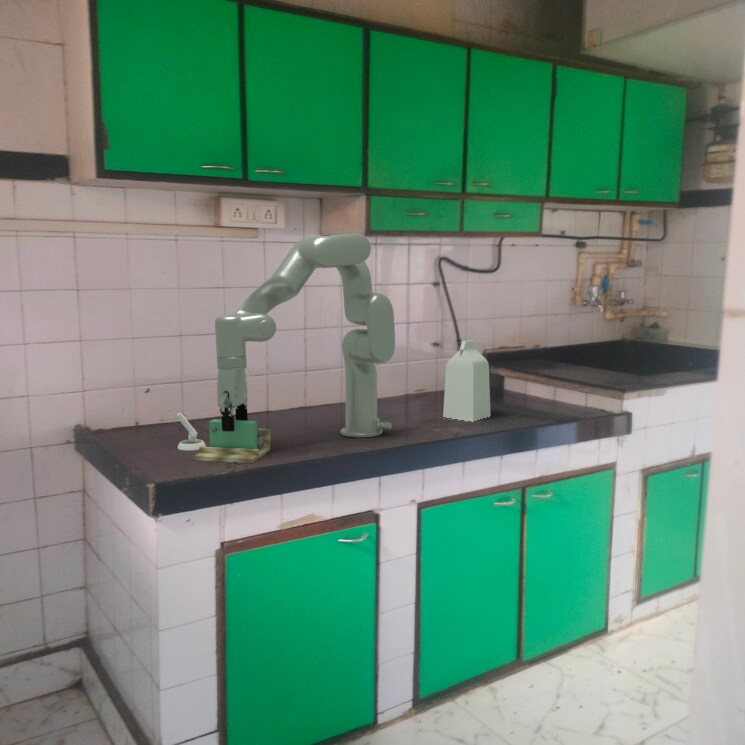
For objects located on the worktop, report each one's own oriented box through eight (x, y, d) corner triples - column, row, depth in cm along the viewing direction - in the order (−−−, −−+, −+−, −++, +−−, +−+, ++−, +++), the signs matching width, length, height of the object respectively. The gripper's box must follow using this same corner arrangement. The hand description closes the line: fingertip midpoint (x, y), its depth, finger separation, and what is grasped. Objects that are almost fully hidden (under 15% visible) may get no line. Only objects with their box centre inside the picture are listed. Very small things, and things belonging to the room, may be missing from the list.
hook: (158, 427, 202) (179, 412, 205) (186, 460, 204) (206, 444, 207) (161, 427, 195) (182, 410, 198) (189, 461, 197) (209, 444, 200)
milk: (473, 422, 237) (474, 343, 233) (443, 418, 243) (444, 341, 240) (490, 416, 246) (492, 340, 243) (461, 412, 253) (462, 338, 250)
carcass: (270, 450, 197) (270, 425, 196) (253, 463, 184) (252, 436, 183) (215, 448, 200) (214, 423, 199) (193, 460, 186) (193, 433, 186)
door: (257, 450, 192) (256, 420, 191) (252, 454, 188) (251, 424, 187) (214, 448, 194) (214, 419, 193) (208, 452, 190) (207, 422, 189)
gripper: (230, 358, 198) (233, 419, 200) (204, 367, 181) (208, 434, 184) (256, 358, 197) (259, 420, 199) (233, 367, 180) (236, 434, 182)
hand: (235, 426), depth 191 cm, fingers open, 9 cm apart
